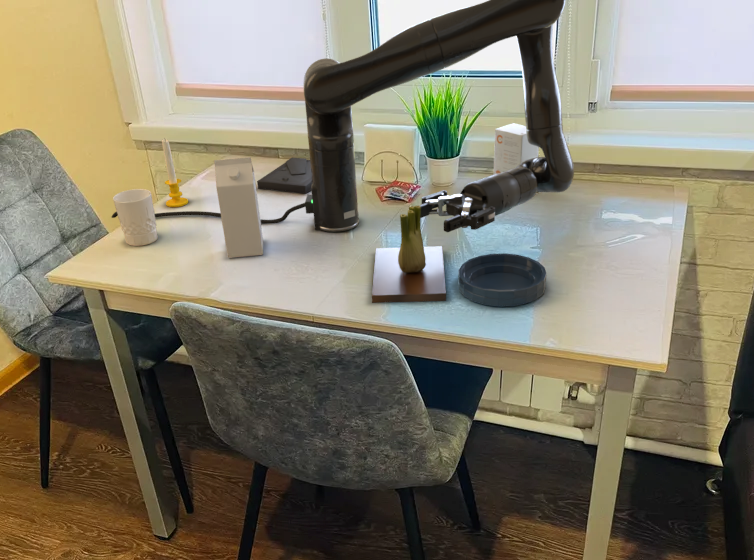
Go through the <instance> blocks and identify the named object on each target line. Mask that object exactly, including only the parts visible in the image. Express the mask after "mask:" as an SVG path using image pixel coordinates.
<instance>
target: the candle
mask: <svg viewBox="0 0 754 560" xmlns="http://www.w3.org/2000/svg"><path fill="white" fill-rule="evenodd" d="M161 144H162V151H163V156H164V160H165V166H166V171H167V177H168V179H167V180H165V181H164V184H165V185H167V186H168V187H169V193H168V198H169V199H168V200H167V201H166V202H165V205H166V206H167V207H168V208H180V207H184V206H186V205H188V204H189V199H188V198H186V197H182V196H183V191H180V186H179V184H180V183H182V179H181V178H177V175H176V171H175V165H174V160H173V155H172V150H171V145H170V141H169V140H168V139H166V138H163V139H162V140H161Z"/></svg>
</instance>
